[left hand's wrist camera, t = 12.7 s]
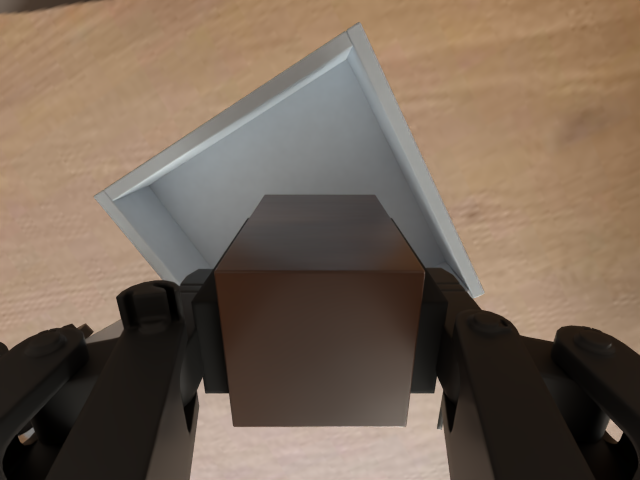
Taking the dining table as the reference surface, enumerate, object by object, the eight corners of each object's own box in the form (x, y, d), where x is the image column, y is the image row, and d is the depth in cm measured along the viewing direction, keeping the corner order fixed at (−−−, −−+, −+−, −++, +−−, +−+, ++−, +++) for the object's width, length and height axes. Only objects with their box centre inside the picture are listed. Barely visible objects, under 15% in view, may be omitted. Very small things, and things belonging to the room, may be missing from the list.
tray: (350, 41, 16) (363, 13, 12) (455, 259, 20) (495, 304, 16) (-13, 277, 21) (-110, 325, 16) (132, 417, 25) (88, 488, 20)
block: (375, 194, 14) (426, 271, 7) (369, 292, 15) (406, 428, 9) (264, 194, 14) (212, 271, 7) (270, 291, 15) (232, 427, 9)
